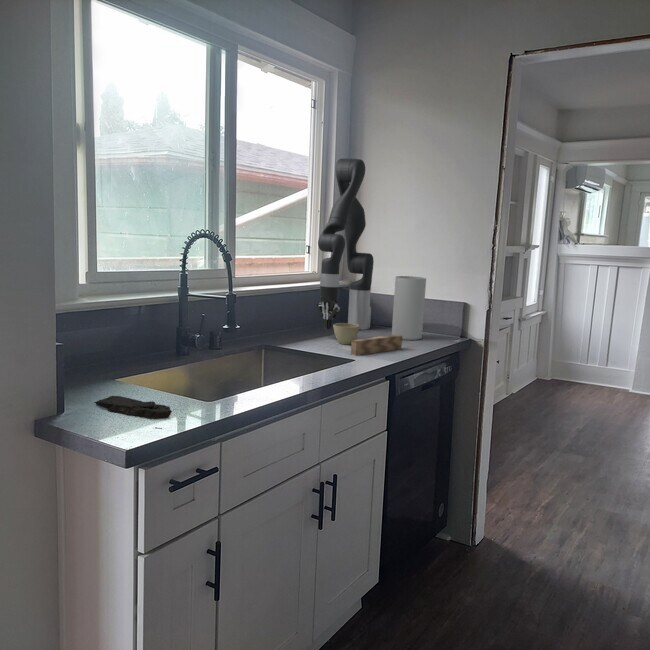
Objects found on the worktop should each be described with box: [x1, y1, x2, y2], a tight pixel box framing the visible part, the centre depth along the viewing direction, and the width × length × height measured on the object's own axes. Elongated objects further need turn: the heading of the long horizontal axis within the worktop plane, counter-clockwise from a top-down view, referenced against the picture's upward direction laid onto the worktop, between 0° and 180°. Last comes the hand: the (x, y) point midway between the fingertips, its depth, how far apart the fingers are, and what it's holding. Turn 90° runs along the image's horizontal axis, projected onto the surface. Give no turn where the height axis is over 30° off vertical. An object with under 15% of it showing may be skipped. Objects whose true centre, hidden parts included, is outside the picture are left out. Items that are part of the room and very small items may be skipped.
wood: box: [94, 395, 173, 420], centre depth 146 cm, size 22×8×3 cm, turn 62°
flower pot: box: [333, 322, 359, 345], centre depth 239 cm, size 10×10×7 cm
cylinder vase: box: [391, 275, 427, 341], centre depth 257 cm, size 12×12×25 cm
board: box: [350, 334, 403, 356], centre depth 227 cm, size 24×2×5 cm, turn 131°
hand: (327, 328), depth 247 cm, fingers closed
